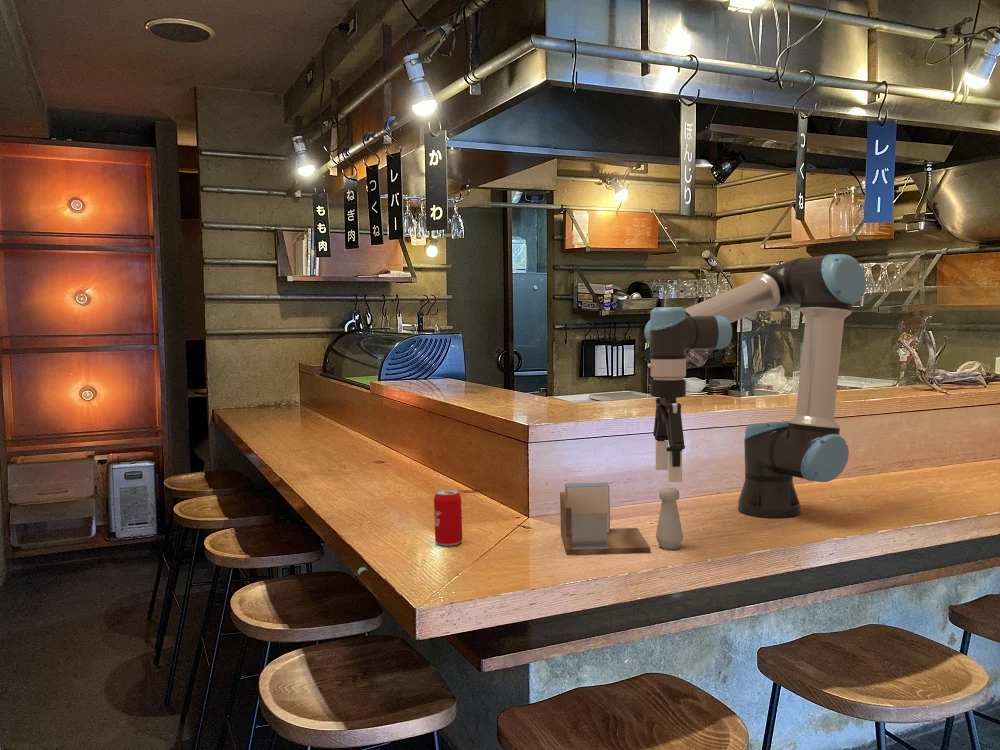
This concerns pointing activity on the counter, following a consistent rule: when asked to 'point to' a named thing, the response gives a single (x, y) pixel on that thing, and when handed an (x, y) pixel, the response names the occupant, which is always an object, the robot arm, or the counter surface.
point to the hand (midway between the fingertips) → (668, 475)
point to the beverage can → (448, 517)
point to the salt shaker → (669, 520)
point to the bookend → (589, 531)
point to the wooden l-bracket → (616, 539)
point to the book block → (589, 498)
